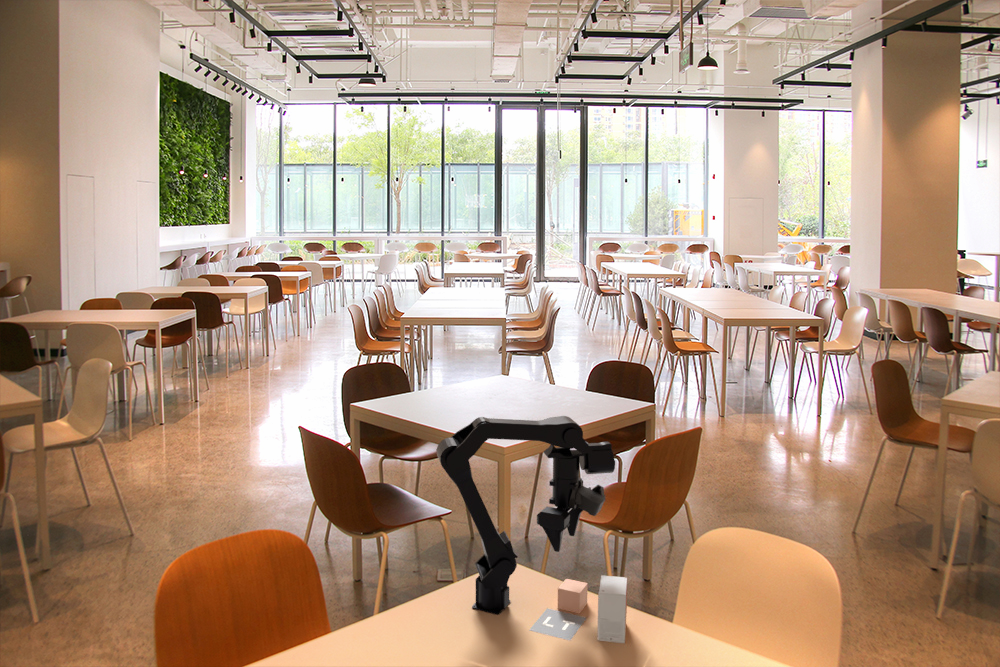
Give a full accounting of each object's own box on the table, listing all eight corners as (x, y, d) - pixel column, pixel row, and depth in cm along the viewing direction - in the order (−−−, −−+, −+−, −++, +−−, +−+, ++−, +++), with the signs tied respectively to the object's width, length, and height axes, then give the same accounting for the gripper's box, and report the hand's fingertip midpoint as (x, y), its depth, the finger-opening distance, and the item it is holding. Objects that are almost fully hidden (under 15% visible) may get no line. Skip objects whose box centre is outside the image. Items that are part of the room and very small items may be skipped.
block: (557, 609, 167) (557, 588, 166) (565, 599, 172) (566, 578, 171) (579, 615, 165) (579, 593, 164) (587, 604, 169) (587, 583, 169)
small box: (625, 644, 153) (626, 595, 152) (596, 641, 154) (598, 592, 153) (626, 624, 161) (628, 576, 160) (599, 621, 162) (600, 574, 161)
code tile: (528, 631, 158) (528, 630, 158) (547, 609, 167) (547, 608, 167) (570, 641, 154) (570, 640, 154) (586, 618, 163) (586, 617, 163)
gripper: (587, 494, 156) (585, 567, 158) (614, 468, 172) (612, 534, 175) (536, 486, 160) (535, 557, 163) (567, 461, 177) (566, 526, 179)
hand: (564, 543), depth 170 cm, fingers open, 9 cm apart
